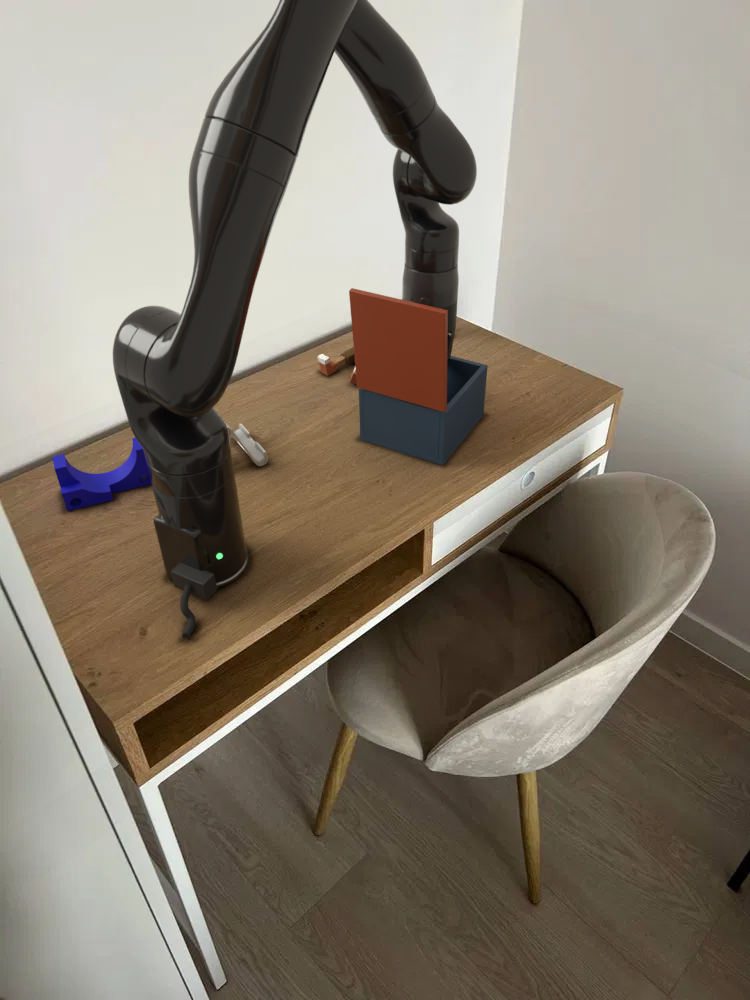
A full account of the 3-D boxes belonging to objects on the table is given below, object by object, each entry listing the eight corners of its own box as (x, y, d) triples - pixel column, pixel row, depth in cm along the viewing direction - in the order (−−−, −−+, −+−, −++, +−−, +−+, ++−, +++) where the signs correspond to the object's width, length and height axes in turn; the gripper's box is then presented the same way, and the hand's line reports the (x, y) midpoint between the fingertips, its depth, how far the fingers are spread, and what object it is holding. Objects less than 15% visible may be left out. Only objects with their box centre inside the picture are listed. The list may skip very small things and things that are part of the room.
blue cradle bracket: (67, 511, 109) (55, 475, 105) (63, 491, 112) (52, 456, 108) (157, 489, 112) (149, 453, 108) (151, 470, 115) (143, 436, 112)
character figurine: (305, 348, 135) (383, 303, 143) (309, 372, 139) (385, 327, 147) (352, 375, 129) (432, 326, 137) (356, 400, 132) (433, 351, 140)
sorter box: (405, 393, 130) (405, 344, 125) (483, 415, 125) (487, 365, 120) (359, 439, 121) (358, 388, 115) (443, 465, 115) (445, 413, 110)
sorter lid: (351, 287, 104) (348, 290, 104) (448, 310, 99) (445, 313, 99) (359, 384, 115) (356, 387, 114) (447, 409, 110) (444, 412, 109)
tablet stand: (268, 464, 116) (262, 415, 111) (217, 482, 113) (209, 433, 108) (243, 434, 122) (236, 386, 117) (194, 451, 119) (185, 403, 113)
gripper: (428, 269, 116) (424, 373, 127) (380, 309, 107) (381, 418, 118) (476, 280, 114) (468, 385, 124) (431, 322, 104) (427, 432, 115)
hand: (426, 401), depth 121 cm, fingers closed on walnut block, 4 cm apart
